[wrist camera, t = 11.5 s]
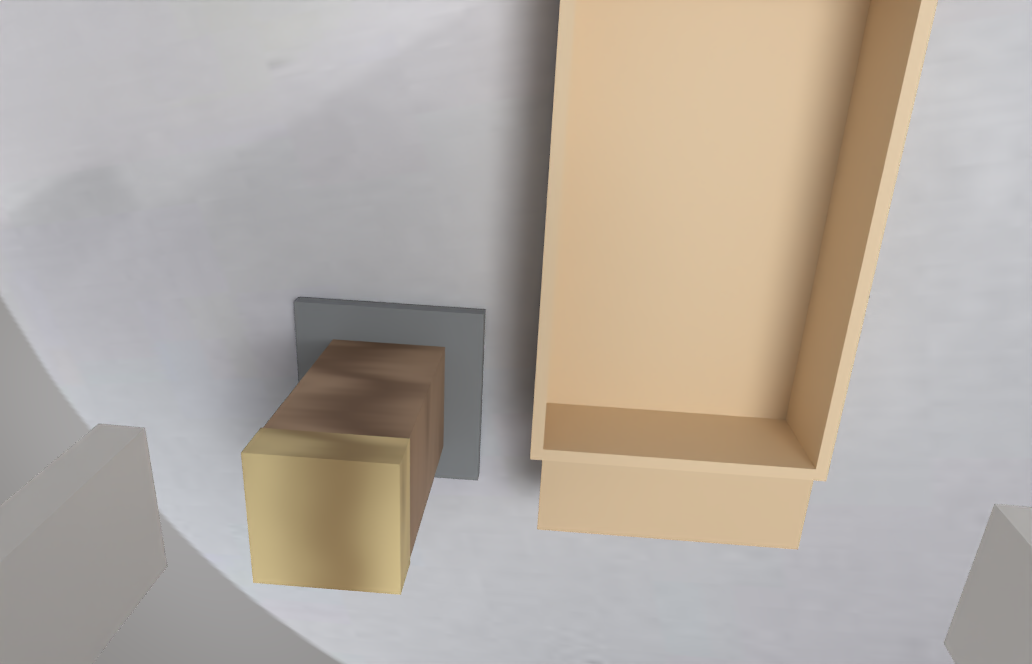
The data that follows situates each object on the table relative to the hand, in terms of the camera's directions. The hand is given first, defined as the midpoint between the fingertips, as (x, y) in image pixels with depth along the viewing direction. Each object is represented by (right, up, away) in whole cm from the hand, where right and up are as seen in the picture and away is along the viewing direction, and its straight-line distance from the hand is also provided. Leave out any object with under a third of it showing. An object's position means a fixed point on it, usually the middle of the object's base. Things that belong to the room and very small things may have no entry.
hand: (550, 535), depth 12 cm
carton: (+8, +9, +25) cm, 28 cm away
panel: (-7, 0, +29) cm, 30 cm away
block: (-7, 0, +29) cm, 30 cm away
